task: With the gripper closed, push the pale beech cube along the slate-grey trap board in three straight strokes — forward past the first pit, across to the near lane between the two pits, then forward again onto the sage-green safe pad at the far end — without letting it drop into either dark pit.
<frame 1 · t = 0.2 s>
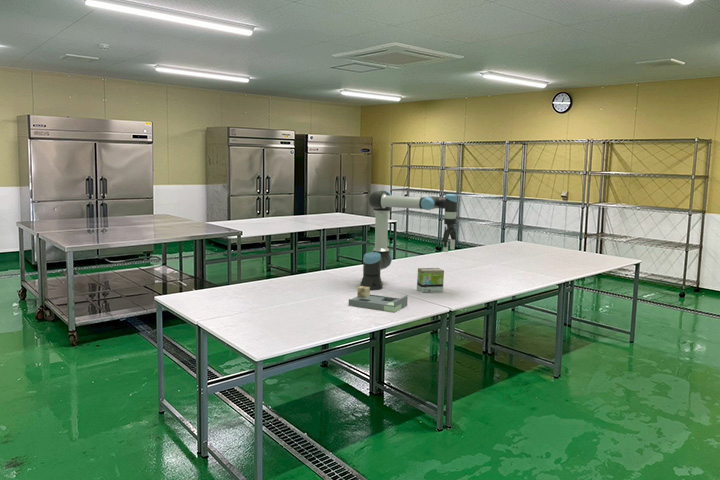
hand: (448, 250, 362), 28 cm above the table, fingers open, 13 cm apart
block: (363, 296, 340), point 3 cm above the table, touching trap board
trap board: (378, 305, 331), on the table
tea box: (429, 291, 371), on the table
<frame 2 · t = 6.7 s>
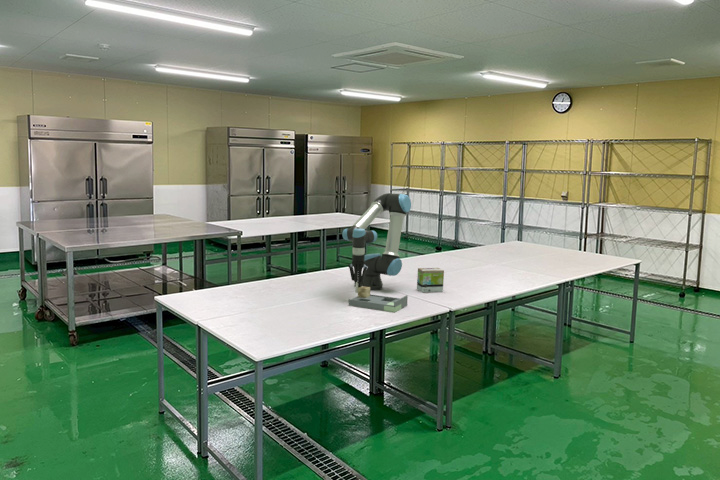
hand: (357, 292, 341), 5 cm above the table, fingers closed
block: (363, 296, 339), point 3 cm above the table, touching gripper, trap board
everything else where it was.
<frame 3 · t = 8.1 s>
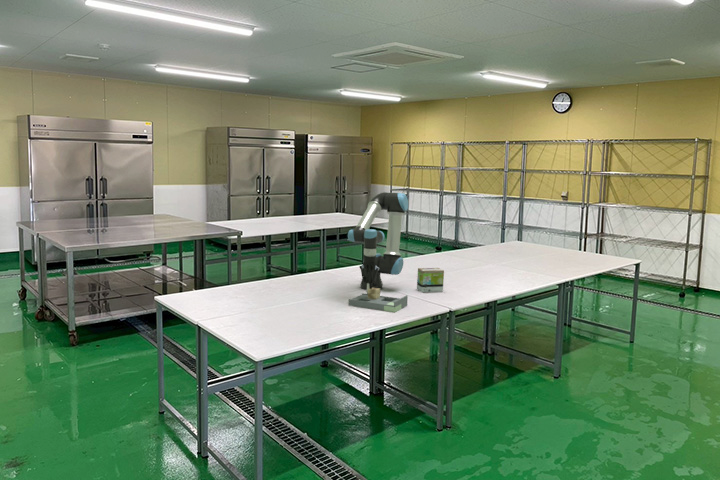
hand: (368, 293, 337), 5 cm above the table, fingers closed
block: (373, 297, 336), point 3 cm above the table, touching gripper, trap board
everything else where it was.
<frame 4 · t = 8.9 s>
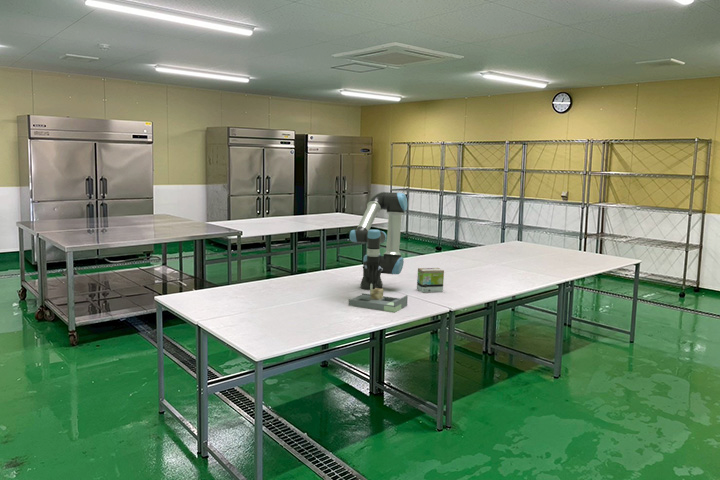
hand: (371, 294, 336), 5 cm above the table, fingers closed
block: (377, 298, 335), point 3 cm above the table, touching gripper, trap board
everything else where it was.
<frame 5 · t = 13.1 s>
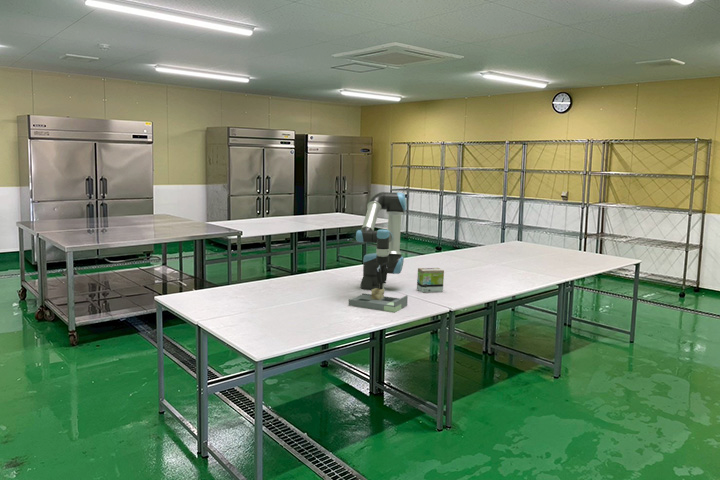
hand: (381, 293, 337), 5 cm above the table, fingers closed
nothing on the table moved.
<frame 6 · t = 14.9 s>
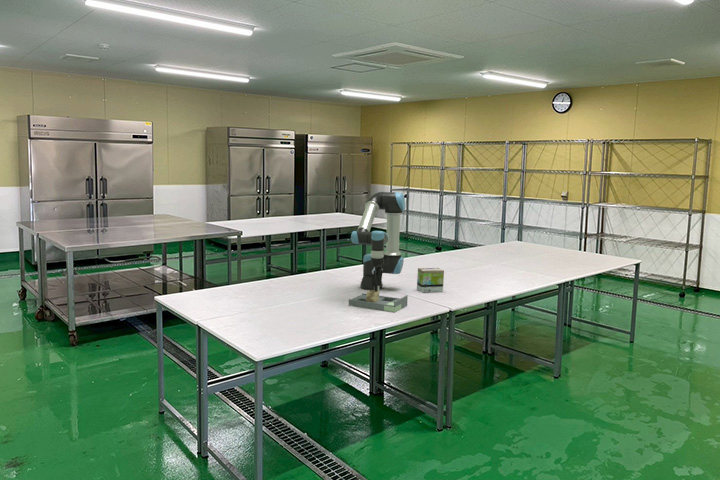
hand: (376, 296, 331), 5 cm above the table, fingers closed
block: (372, 300, 329), point 3 cm above the table, touching gripper, trap board
everything else where it was.
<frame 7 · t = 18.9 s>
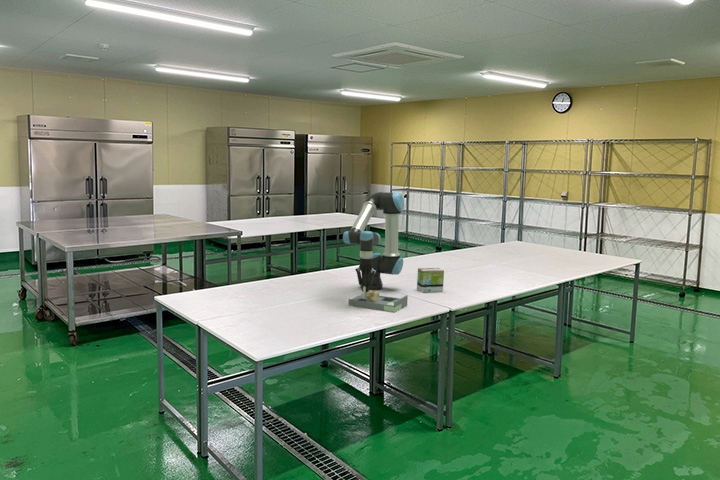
hand: (365, 297, 329), 5 cm above the table, fingers closed
block: (372, 300, 329), point 3 cm above the table, touching gripper
everything else where it was.
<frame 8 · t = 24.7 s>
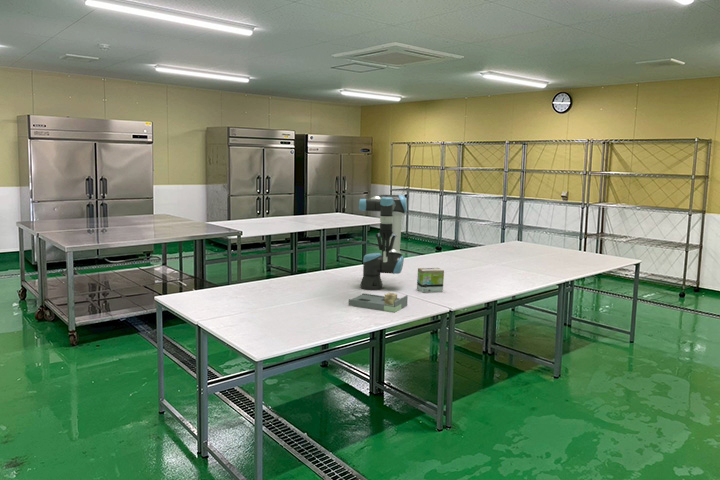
hand: (385, 261, 337), 24 cm above the table, fingers closed
block: (390, 303, 324), point 3 cm above the table, touching trap board
everything else where it was.
at the end: block inside the target area on the trap board (1.9 cm from its centre), point 3.0 cm above the trap board's base; block tilted 0° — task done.
